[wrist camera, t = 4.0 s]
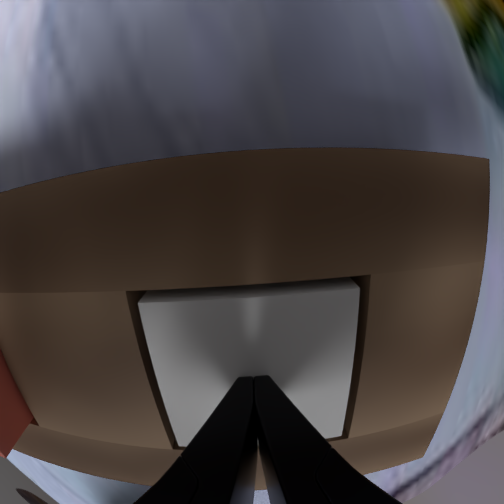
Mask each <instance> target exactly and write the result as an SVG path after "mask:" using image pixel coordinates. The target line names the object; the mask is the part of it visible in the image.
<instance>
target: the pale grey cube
mask: <svg viewBox="0 0 504 504" xmlns="http://www.w3.org/2000/svg"><path fill="white" fill-rule="evenodd" d="M359 296H360V288H359V287H358V285H357V284H356V283H355V282H354V281H353V280H352V279H351V278H350V277H339V278H328V279H317V280H305V281H292V282H279V283H265V284H251V285H236V286H220V287H202V288H183V289H162V290H147V292H146V293H145V294H144V295H143V297H142V298H141V299H140V301H139V302H138V306H139V311H140V316H141V320H142V324H143V329H144V333H145V337H146V341H147V345H148V349H149V353H150V357H151V360H152V364H153V368H154V371H155V375H156V378H157V382H158V385H159V389H160V392H161V395H162V398H163V402H164V405H165V408H166V411H167V414H168V417H169V420H170V423H171V426H172V429H173V432H174V434H175V437H176V440H177V443H178V445H179V446H184V447H187V445H188V444H189V443H190V441H191V440H192V439H193V437H194V436H195V435H196V434H197V432H198V431H199V430H200V428H201V427H202V426H203V424H204V423H205V422H206V420H207V419H208V418H209V416H210V415H211V414H212V412H213V411H214V410H215V408H216V407H217V405H218V404H219V403H220V401H221V400H222V399H223V397H224V396H225V394H226V393H227V392H228V390H229V389H230V387H231V386H232V385H233V383H234V382H235V380H236V379H237V378H238V377H244V376H252V377H253V379H254V377H255V376H260V375H269V376H270V377H271V378H272V379H273V380H274V382H275V383H276V384H277V385H278V386H279V388H280V389H281V390H282V391H283V392H284V393H285V394H286V396H287V397H288V398H289V399H290V400H291V401H292V403H293V404H294V405H295V406H296V407H297V408H298V409H299V410H300V412H301V413H302V414H303V415H304V416H305V417H306V418H307V419H308V421H309V422H310V423H311V424H312V425H313V426H314V427H315V428H316V429H317V430H318V432H319V433H320V434H321V435H322V436H323V437H324V438H325V439H326V438H333V437H338V436H342V431H343V425H344V420H345V414H346V408H347V402H348V396H349V389H350V383H351V375H352V368H353V360H354V352H355V342H356V333H357V322H358V310H359Z"/></svg>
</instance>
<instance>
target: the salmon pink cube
mask: <svg viewBox="0 0 504 504" xmlns="http://www.w3.org/2000/svg"><path fill="white" fill-rule="evenodd" d="M33 418H34V416H33V414H32V412H31V411H30V409H29V407H28V405H27V404H26V402H25V400H24V398H23V396H22V394H21V392H20V390H19V388H18V386H17V384H16V382H15V380H14V378H13V376H12V374H11V372H10V370H9V367H8V365H7V363H6V361H5V358H4V356H3V354H2V351H1V349H0V456H2V457H4V458H6V457H7V456H8V454H9V453H10V451H11V450H12V448H13V447H14V445H15V444H16V442H17V441H18V439H19V438H20V436H21V435H22V433H23V432H24V431H25V429H26V428H27V426H28V425H29V423H30V422H31V421H32V419H33Z"/></svg>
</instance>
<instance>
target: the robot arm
mask: <svg viewBox="0 0 504 504" xmlns="http://www.w3.org/2000/svg"><path fill="white" fill-rule="evenodd" d="M258 447H259V454H260V459H261V464H262V468H263V473H264V477H265V482H266V486H267V491H268V495H269V499H270V504H402V503H401V502H399V501H398V500H396V499H395V498H393V497H392V496H391V495H389V494H388V493H386V492H385V491H383V490H382V489H381V488H379V487H378V486H376V485H375V484H374V483H372V482H371V481H370V480H368V479H367V478H366V477H365V476H363V475H362V474H361V473H359V472H358V471H357V470H356V469H355V468H354V467H352V466H351V465H350V464H349V463H348V462H347V461H346V460H345V459H344V458H343V457H342V456H341V455H340V454H339V453H338V452H337V451H336V450H335V449H334V448H332V446H331V444H330V443H329V442H328V441H327V440H326V439H325V438H324V437H323V436H322V435H321V434H320V433H319V432H318V430H317V429H316V428H315V427H314V426H313V425H312V424H311V423H310V422H309V421H308V419H307V418H306V417H305V416H304V415H303V414H302V413H301V412H300V410H299V409H298V408H297V407H296V406H295V405H294V404H293V403H292V401H291V400H290V399H289V398H288V397H287V396H286V394H285V393H284V392H283V391H282V390H281V389H280V388H279V386H278V385H277V384H276V383H275V382H274V380H273V379H272V378H271V377H270V376H269V375H260V376H255V377H254V379H253V377H252V376H244V377H238V378H237V379H236V380H235V382H234V383H233V385H232V386H231V387H230V389H229V390H228V392H227V393H226V394H225V396H224V397H223V399H222V400H221V401H220V403H219V404H218V405H217V407H216V408H215V410H214V411H213V412H212V414H211V415H210V416H209V418H208V419H207V420H206V422H205V423H204V424H203V426H202V427H201V428H200V430H199V431H198V432H197V434H196V435H195V436H194V437H193V439H192V440H191V441H190V443H189V444H188V445H187V447H186V448H185V449H184V450H183V452H182V453H181V454H180V455H181V456H179V457H178V458H177V459H176V460H175V462H174V463H173V464H172V465H171V467H170V468H169V469H168V470H167V471H166V472H165V474H164V475H163V476H162V477H161V478H160V479H159V480H158V481H157V482H156V483H155V484H154V485H153V486H152V487H151V488H150V489H149V490H148V491H147V492H146V493H145V494H143V495H142V496H141V497H140V498H139V499H138V500H137V501H135V502H134V503H133V504H253V499H254V489H255V479H256V469H257V458H258Z"/></svg>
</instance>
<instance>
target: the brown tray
mask: <svg viewBox="0 0 504 504" xmlns="http://www.w3.org/2000/svg"><path fill="white" fill-rule="evenodd" d="M489 196H490V169H489V159H486V158H479V157H472V156H464V155H456V154H447V153H437V152H426V151H413V150H398V149H377V148H280V149H259V150H243V151H230V152H218V153H207V154H197V155H188V156H179V157H171V158H164V159H156V160H149V161H142V162H136V163H130V164H124V165H118V166H112V167H107V168H101V169H96V170H91V171H86V172H81V173H76V174H71V175H67V176H62V177H58V178H54V179H50V180H45V181H41V182H37V183H33V184H30V185H26V186H22V187H18V188H15V189H11V190H8V191H4V192H1V193H0V349H1V351H2V354H3V356H4V358H5V361H6V363H7V365H8V367H9V370H10V372H11V374H12V376H13V378H14V380H15V382H16V384H17V386H18V388H19V390H20V392H21V394H22V396H23V398H24V400H25V402H26V404H27V405H28V407H29V409H30V411H31V412H32V414H33V416H34V418H33V419H32V421H31V422H30V423H29V425H28V426H27V428H26V429H25V431H24V432H23V433H22V435H21V436H20V438H19V439H18V441H17V442H16V444H15V445H14V447H13V448H12V449H14V450H16V451H19V452H21V453H24V454H26V455H29V456H32V457H34V458H37V459H40V460H43V461H46V462H49V463H52V464H55V465H58V466H61V467H64V468H68V469H71V470H75V471H78V472H82V473H86V474H90V475H94V476H98V477H103V478H108V479H112V480H117V481H123V482H128V483H134V484H141V485H148V486H153V485H154V484H155V483H156V482H157V481H158V480H159V479H160V478H161V477H162V476H163V475H164V474H165V472H166V471H167V470H168V469H169V468H170V467H171V465H172V464H173V463H174V462H175V460H176V459H177V458H178V457H179V456H181V455H180V454H181V453H182V452H183V450H184V449H185V448H186V447H184V446H179V445H178V443H177V440H176V437H175V434H174V432H173V429H172V426H171V423H170V420H169V417H168V414H167V411H166V408H165V405H164V402H163V398H162V395H161V392H160V389H159V385H158V382H157V378H156V375H155V371H154V368H153V364H152V360H151V357H150V353H149V349H148V345H147V341H146V337H145V333H144V329H143V324H142V320H141V316H140V311H139V306H138V302H139V301H140V299H141V298H142V297H143V295H144V294H145V293H146V292H147V290H162V289H183V288H202V287H220V286H236V285H251V284H265V283H279V282H292V281H305V280H317V279H328V278H339V277H350V278H351V279H352V280H353V281H354V282H355V283H356V284H357V285H358V287H359V288H360V296H359V310H358V322H357V333H356V342H355V352H354V360H353V368H352V375H351V383H350V389H349V396H348V402H347V408H346V414H345V420H344V425H343V431H342V436H338V437H333V438H326V440H327V441H328V442H329V443H330V444H331V446H332V448H334V449H335V450H336V451H337V452H338V453H339V454H340V455H341V456H342V457H343V458H344V459H345V460H346V461H347V462H348V463H349V464H350V465H351V466H352V467H354V468H355V469H356V470H357V471H358V472H359V473H361V474H362V475H365V474H369V473H373V472H377V471H380V470H384V469H387V468H391V467H394V466H398V465H401V464H404V463H407V462H410V461H413V460H416V459H419V458H422V457H423V456H424V454H425V452H426V450H427V448H428V446H429V444H430V442H431V440H432V438H433V436H434V434H435V431H436V429H437V427H438V425H439V422H440V420H441V418H442V415H443V413H444V411H445V408H446V406H447V403H448V401H449V398H450V396H451V393H452V390H453V387H454V385H455V382H456V379H457V376H458V373H459V370H460V367H461V364H462V361H463V357H464V354H465V351H466V347H467V344H468V340H469V336H470V333H471V329H472V325H473V320H474V316H475V312H476V307H477V302H478V297H479V292H480V286H481V281H482V274H483V268H484V260H485V252H486V243H487V233H488V219H489ZM266 489H267V486H266V482H265V477H264V473H263V468H262V464H261V459H260V454H259V447H258V458H257V469H256V479H255V489H254V490H266Z"/></svg>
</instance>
